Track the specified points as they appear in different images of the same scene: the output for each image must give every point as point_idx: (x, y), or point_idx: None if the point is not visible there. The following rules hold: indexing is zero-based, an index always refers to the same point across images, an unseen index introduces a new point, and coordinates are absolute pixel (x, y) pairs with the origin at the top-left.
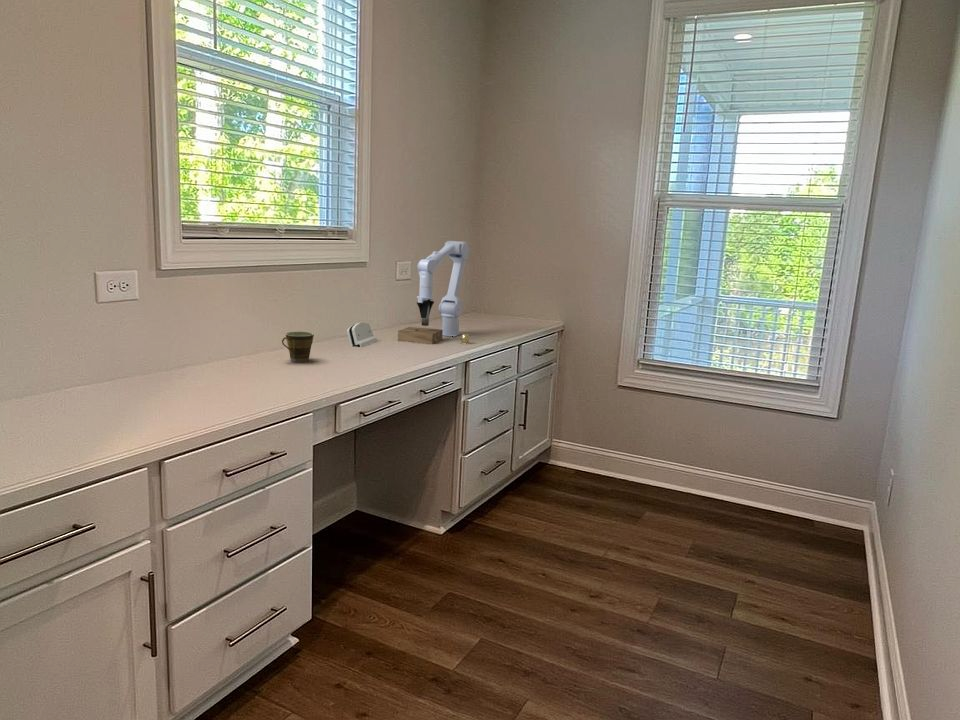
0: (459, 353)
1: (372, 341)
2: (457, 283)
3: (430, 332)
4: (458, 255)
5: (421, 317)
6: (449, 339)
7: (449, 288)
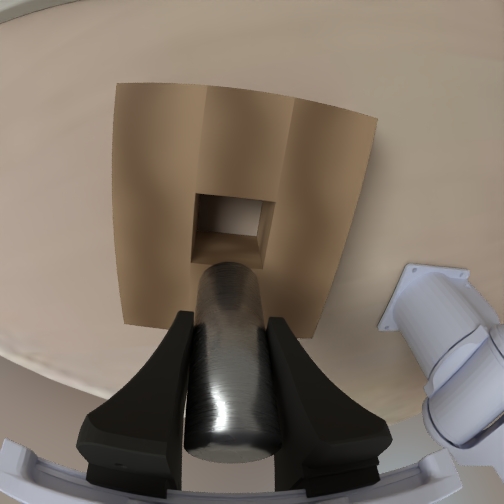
0: (57, 376)
1: (30, 7)
2: None
3: (173, 307)
4: None
5: (176, 315)
6: None
7: None
